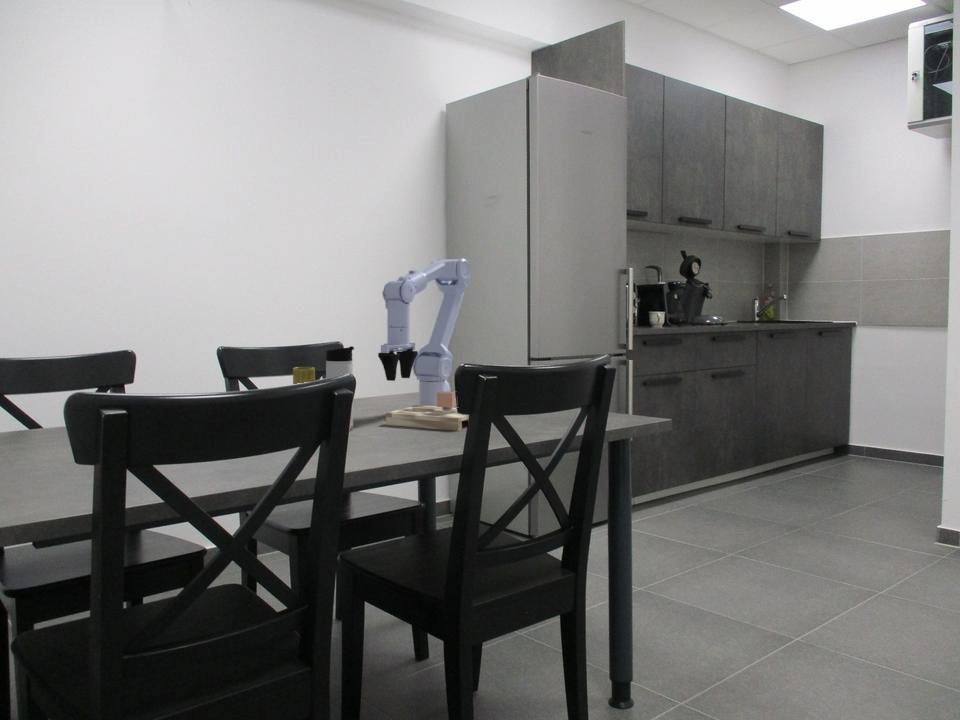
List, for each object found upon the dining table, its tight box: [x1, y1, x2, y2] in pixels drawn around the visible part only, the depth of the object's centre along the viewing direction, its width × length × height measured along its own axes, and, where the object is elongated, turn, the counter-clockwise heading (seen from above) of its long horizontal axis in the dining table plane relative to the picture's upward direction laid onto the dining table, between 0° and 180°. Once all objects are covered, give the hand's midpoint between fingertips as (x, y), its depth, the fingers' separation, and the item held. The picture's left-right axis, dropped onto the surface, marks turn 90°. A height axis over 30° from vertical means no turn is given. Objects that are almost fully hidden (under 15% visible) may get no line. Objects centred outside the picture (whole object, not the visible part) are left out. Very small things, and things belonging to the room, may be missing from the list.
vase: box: [292, 366, 316, 385], centre depth 198 cm, size 6×6×14 cm
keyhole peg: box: [437, 391, 457, 414], centre depth 201 cm, size 5×5×8 cm
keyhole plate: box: [385, 404, 469, 432], centre depth 203 cm, size 16×20×3 cm
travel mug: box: [325, 346, 355, 431], centre depth 191 cm, size 6×7×20 cm
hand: (398, 379), depth 209 cm, fingers open, 7 cm apart
